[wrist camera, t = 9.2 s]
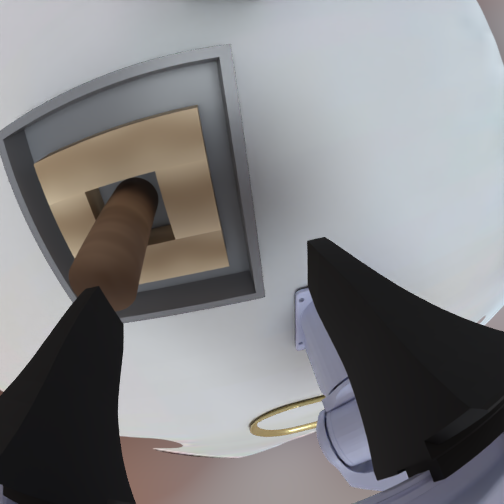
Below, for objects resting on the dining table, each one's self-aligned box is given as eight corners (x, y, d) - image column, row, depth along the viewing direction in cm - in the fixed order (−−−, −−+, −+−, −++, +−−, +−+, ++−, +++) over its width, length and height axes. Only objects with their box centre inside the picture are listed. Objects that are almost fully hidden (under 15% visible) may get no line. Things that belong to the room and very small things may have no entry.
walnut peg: (163, 214, 17) (147, 306, 11) (122, 224, 17) (89, 315, 10) (151, 172, 15) (120, 247, 9) (107, 184, 15) (56, 262, 8)
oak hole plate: (226, 248, 19) (229, 266, 18) (100, 275, 19) (94, 292, 17) (197, 104, 13) (197, 107, 12) (48, 154, 13) (33, 164, 11)
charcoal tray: (257, 270, 22) (265, 297, 19) (98, 301, 21) (91, 327, 18) (225, 50, 12) (230, 44, 10) (20, 123, 11) (-6, 134, 9)
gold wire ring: (387, 396, 55) (389, 401, 54) (250, 435, 50) (251, 441, 49) (419, 357, 44) (423, 363, 43) (246, 408, 39) (248, 416, 38)
